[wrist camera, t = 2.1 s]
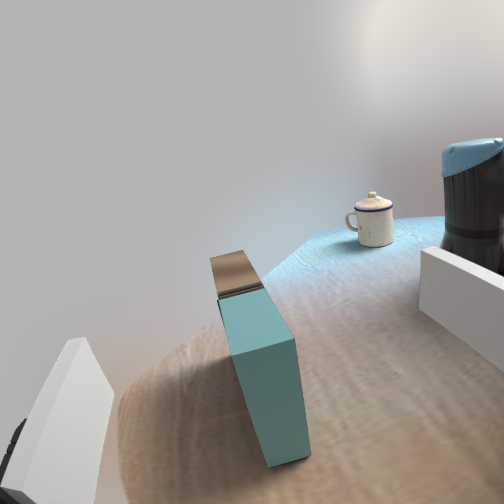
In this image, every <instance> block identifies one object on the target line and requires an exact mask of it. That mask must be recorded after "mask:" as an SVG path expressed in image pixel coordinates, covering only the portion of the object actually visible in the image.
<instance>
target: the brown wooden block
mask: <svg viewBox="0 0 504 504" xmlns="http://www.w3.org/2000/svg"><path fill="white" fill-rule="evenodd" d="M210 261H211V266H212V271H213V276H214V281H215V285H216V290H217V294H218V299H219V300H222V299H226V298H229V297H233V296H237V295H241V294H245V293H249V292H253V291H256V290H260V289H264V285H263V284H262V282H261V280H260V279H259V277H258V275H257V273H256V272H255V270H254V268H253V267H252V265H251V263H250V261H249V260H248V258H247V256H246V255H245V253H244V251H243V250H241V251H237V252H233V253H229V254H225V255H221V256H217V257H213V258H210ZM265 289H266V288H265ZM219 300H217V303H218V306H219V310H220V313H221V308H220V304H219ZM221 317H222V313H221ZM222 321H223V317H222ZM223 324H224V322H223ZM224 328H225V326H224Z"/></svg>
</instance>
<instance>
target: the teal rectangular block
mask: <svg viewBox="0 0 504 504" xmlns="http://www.w3.org/2000/svg"><path fill="white" fill-rule="evenodd" d="M219 304H220V308H221V313H222V317H223V322H224V326H225V331H226V335H227V339H228V344H229V348H230V352H231V356H232V359H233V363H234V366H235V369H236V373H237V376H238V379H239V382H240V385H241V389H242V392H243V395H244V398H245V401H246V404H247V407H248V410H249V414H250V417H251V420H252V423H253V426H254V429H255V432H256V435H257V438H258V441H259V443H260V446H261V449H262V452H263V455H264V458H265V461H266V464H267V466H268V468H270V467H274V466H277V465H281V464H284V463H288V462H291V461H294V460H297V459H301V458H304V457H307V456H310V455H311V450H310V442H309V435H308V427H307V420H306V413H305V405H304V398H303V391H302V385H301V378H300V371H299V364H298V358H297V351H296V345H295V338H294V336H293V335H292V333H291V331H290V330H289V328H288V326H287V325H286V323H285V321H284V319H283V318H282V316H281V314H280V313H279V311H278V309H277V308H276V306H275V304H274V302H273V301H272V299H271V297H270V296H269V294H268V292H267V291H266V289H265V288H264V289H260V290H256V291H253V292H249V293H245V294H241V295H237V296H233V297H229V298H226V299H222V300H219Z"/></svg>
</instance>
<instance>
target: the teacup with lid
mask: <svg viewBox="0 0 504 504" xmlns="http://www.w3.org/2000/svg"><path fill="white" fill-rule="evenodd" d="M368 196H369V197H366V198H364V199H363V200H362V201H360V202H358V203H356V204H355V207H354V209H355V210H356V211H350V212H348V213H347V214H346V216H345V223H346V225H347V227H348V228H349V229H350V230H351V231H354V232H358V239H359V243H360V244H361V245H363V246H367V247H381V246H386V245H388V244H390V243H392V242H393V240H394V231H393V216H392V206H393V204H392V202H391V201H389V200H386V199H383V198H381V197H380V196H377V194H376V192H369V193H368ZM351 214H355V215H356V218H357V228H354V227H352V226H351V225H350V223H349V221H348V216H349V215H351Z"/></svg>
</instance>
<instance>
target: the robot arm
mask: <svg viewBox="0 0 504 504" xmlns="http://www.w3.org/2000/svg"><path fill="white" fill-rule="evenodd" d="M442 170H443V171H442V177H443V179H444V197H445V198H444V200H445V233H444V237H443V240H442V243H441V246H440V248H438V247H436V246H431V247H428V248H425V249H422V250H421V270H420V296H419V310H421V311H422V312H424V313H425V314H426V315H428V316H429V317H431V318H432V319H433V320H435V321H436V322H437V323H439V324H440V325H442V326H443V327H444V328H446V329H447V330H448V331H450V332H451V333H452V334H454V335H455V336H456V337H458V338H459V339H460V340H462V341H463V342H464V343H466V344H467V345H468V346H470V347H471V348H472V349H474V350H475V351H476V352H478V353H479V354H480V355H482V356H483V357H484V358H485V359H487V360H488V361H489V362H491V363H492V364H493V365H494V366H496V367H497V368H498V369H500V370H501V371H502V372H503V373H504V140H503V139H502V138H489V139H478V140H472V141H465V142H459V143H455V144H451V145H448V146H447V147H445V148H444V150H443V152H442ZM114 395H115V394H114V392H113V390H112V388H111V386H110V385H109V383H108V381H107V379H106V377H105V375H104V374H103V372H102V370H101V368H100V366H99V364H98V362H97V360H96V358H95V356H94V354H93V352H92V351H91V348H90V346H89V344H88V342H87V340H86V338H85V337H82V338H76V339H71V340H68V341H67V343H66V345H65V347H64V348H63V350H62V352H61V354H60V355H59V357H58V359H57V361H56V363H55V364H54V366H53V368H52V370H51V372H50V374H49V376H48V378H47V380H46V381H45V383H44V385H43V387H42V389H41V391H40V394H39V396H38V398H37V399H36V401H35V403H34V406H33V408H32V410H31V412H30V414H29V416H28V418H27V419H24V421H23V422H22V423H21V424H20V425H19V426H18V427H17V429H16V430H15V432H14V435H13V437H12V439H11V444H9V446H8V448H7V454H5V456H4V458H3V461H2V463H1V466H0V504H94V500H95V493H96V486H97V480H98V474H99V468H100V462H101V456H102V451H103V446H104V441H105V436H106V430H107V426H108V421H109V417H110V412H111V408H112V403H113V399H114Z"/></svg>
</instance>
